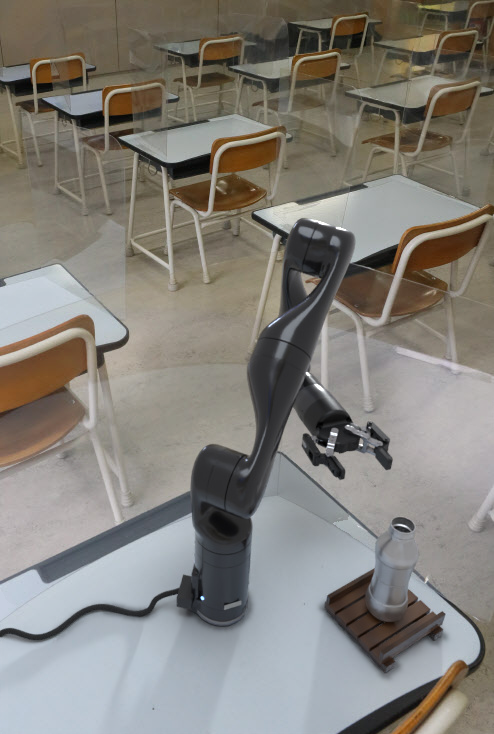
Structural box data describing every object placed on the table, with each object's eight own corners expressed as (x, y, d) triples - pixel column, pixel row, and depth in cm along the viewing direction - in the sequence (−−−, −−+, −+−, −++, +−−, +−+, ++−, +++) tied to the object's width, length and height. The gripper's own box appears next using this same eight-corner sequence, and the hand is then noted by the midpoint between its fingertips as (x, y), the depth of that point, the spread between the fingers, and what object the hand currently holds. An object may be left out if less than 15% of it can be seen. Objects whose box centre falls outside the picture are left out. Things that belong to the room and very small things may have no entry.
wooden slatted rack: (382, 674, 107) (386, 657, 105) (321, 608, 118) (324, 592, 116) (444, 633, 113) (449, 616, 111) (380, 574, 124) (384, 558, 122)
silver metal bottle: (406, 631, 111) (429, 544, 101) (363, 623, 112) (381, 537, 102) (403, 598, 116) (424, 512, 106) (362, 591, 118) (378, 506, 108)
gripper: (287, 403, 123) (330, 461, 109) (358, 390, 126) (408, 445, 112) (283, 436, 127) (324, 496, 113) (353, 422, 130) (401, 479, 116)
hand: (366, 470), depth 113 cm, fingers open, 8 cm apart
